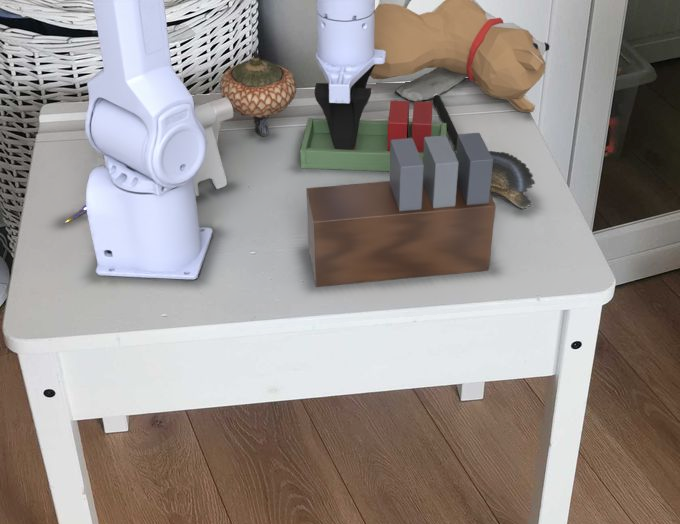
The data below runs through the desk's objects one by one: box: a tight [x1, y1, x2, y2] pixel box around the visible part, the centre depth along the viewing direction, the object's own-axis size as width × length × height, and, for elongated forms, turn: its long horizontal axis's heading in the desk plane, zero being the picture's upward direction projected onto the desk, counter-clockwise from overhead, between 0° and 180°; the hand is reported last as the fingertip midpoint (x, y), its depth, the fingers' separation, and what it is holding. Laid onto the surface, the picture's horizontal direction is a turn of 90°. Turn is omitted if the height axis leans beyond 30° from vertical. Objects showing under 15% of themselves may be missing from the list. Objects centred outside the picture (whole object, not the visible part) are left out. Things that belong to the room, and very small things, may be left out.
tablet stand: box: [193, 97, 234, 197], centre depth 101 cm, size 9×8×8 cm
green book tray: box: [299, 117, 447, 172], centre depth 107 cm, size 15×7×2 cm, turn 85°
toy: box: [369, 0, 551, 113], centre depth 114 cm, size 10×24×20 cm
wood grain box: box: [305, 180, 496, 288], centre depth 90 cm, size 16×6×7 cm, turn 98°
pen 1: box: [64, 204, 87, 224], centre depth 100 cm, size 14×1×1 cm, turn 132°
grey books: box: [388, 132, 493, 211], centre depth 87 cm, size 8×5×4 cm, turn 98°
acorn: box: [219, 50, 297, 137], centre depth 108 cm, size 8×8×10 cm
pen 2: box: [432, 94, 459, 150], centre depth 110 cm, size 1×19×1 cm, turn 8°
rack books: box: [387, 100, 434, 153], centre depth 105 cm, size 4×5×4 cm
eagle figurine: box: [453, 150, 536, 210], centre depth 98 cm, size 8×7×9 cm
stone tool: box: [395, 67, 468, 102], centre depth 120 cm, size 14×1×5 cm
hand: (346, 134), depth 106 cm, fingers closed on red book, 5 cm apart
